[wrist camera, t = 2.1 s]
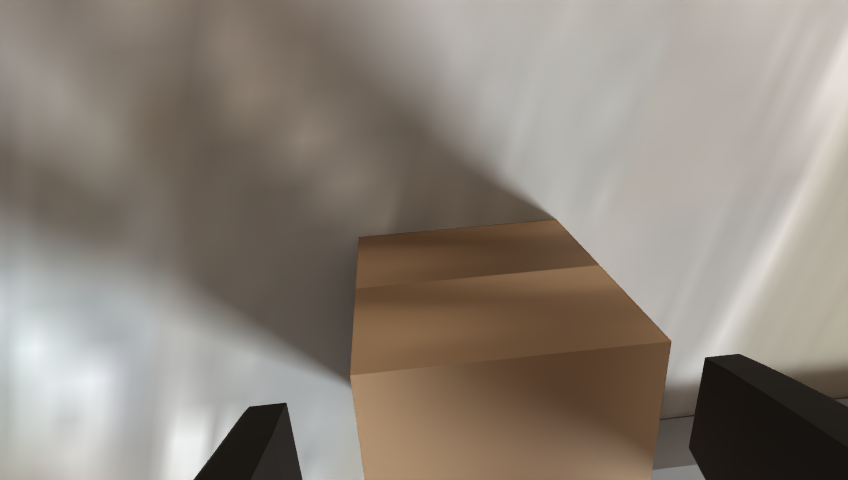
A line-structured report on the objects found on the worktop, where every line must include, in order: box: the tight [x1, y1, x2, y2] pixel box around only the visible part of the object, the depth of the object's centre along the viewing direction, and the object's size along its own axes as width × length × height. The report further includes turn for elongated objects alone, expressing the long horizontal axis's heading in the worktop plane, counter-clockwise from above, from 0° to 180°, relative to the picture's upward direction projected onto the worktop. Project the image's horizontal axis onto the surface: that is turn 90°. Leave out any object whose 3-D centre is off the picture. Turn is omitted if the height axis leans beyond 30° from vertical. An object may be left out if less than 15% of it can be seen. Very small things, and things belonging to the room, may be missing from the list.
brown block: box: [350, 219, 671, 480], centre depth 10 cm, size 4×4×5 cm
